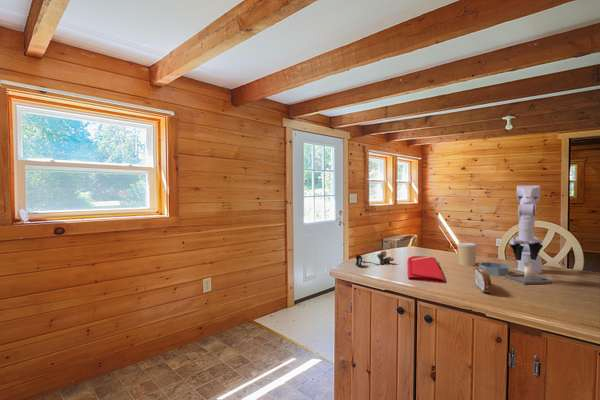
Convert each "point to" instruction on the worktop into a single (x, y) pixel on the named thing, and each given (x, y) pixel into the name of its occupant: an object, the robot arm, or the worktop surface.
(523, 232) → the robot arm
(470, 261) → the coffee cup
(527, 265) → the dowel pin
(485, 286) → the tin
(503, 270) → the blue-grey octagonal bowl
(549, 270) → the worktop surface
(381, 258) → the artificial flower
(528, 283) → the tray
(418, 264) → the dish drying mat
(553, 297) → the worktop surface
